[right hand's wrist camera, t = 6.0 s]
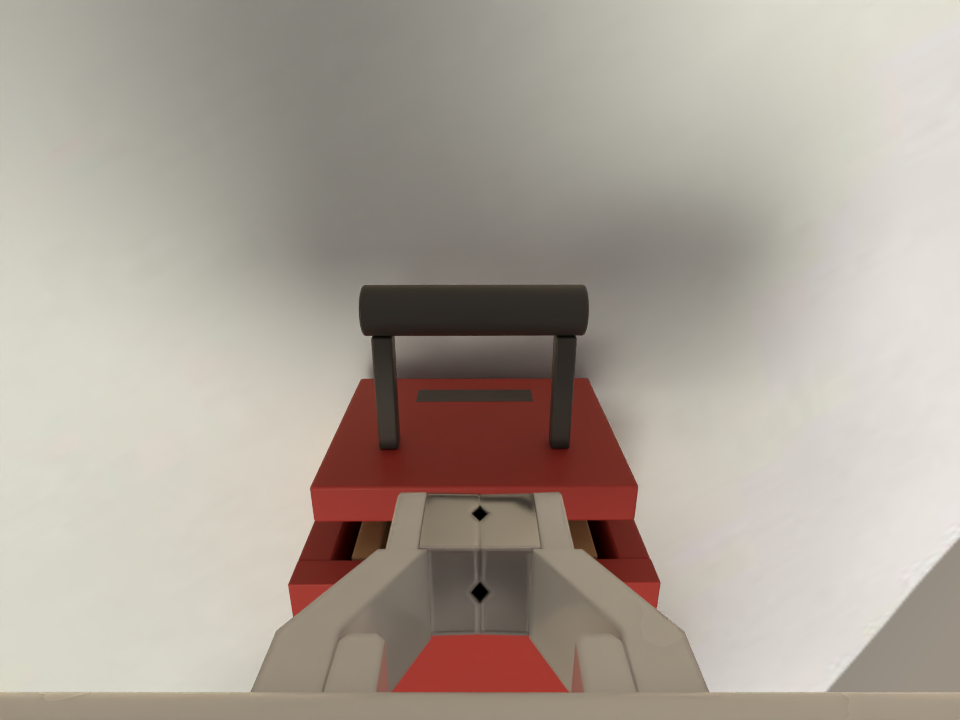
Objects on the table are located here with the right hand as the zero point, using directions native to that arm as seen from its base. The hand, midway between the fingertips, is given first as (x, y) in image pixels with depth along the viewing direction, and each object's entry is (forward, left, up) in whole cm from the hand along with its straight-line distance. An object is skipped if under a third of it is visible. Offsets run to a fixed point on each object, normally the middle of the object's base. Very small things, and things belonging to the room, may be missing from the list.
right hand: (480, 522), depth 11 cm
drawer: (+7, -2, -12) cm, 14 cm away
